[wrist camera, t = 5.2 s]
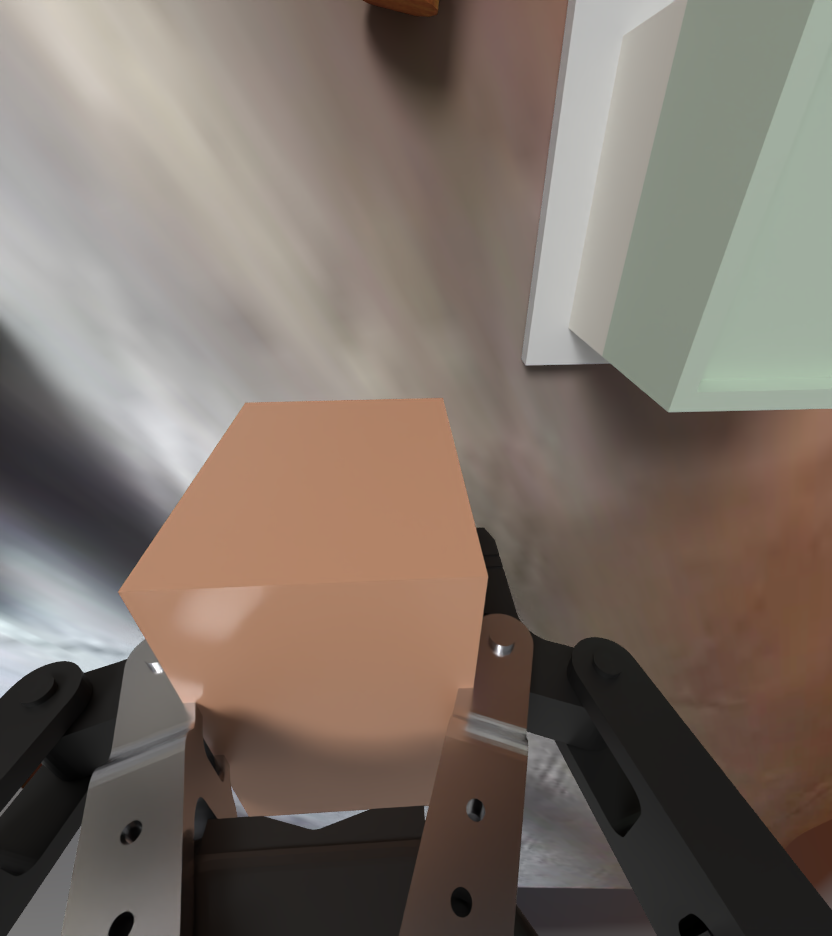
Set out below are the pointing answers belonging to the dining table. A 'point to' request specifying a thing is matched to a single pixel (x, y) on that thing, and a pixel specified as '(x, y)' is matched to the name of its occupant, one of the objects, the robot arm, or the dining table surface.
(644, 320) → the mint open-top box
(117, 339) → the dining table surface
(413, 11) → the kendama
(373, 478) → the brick
